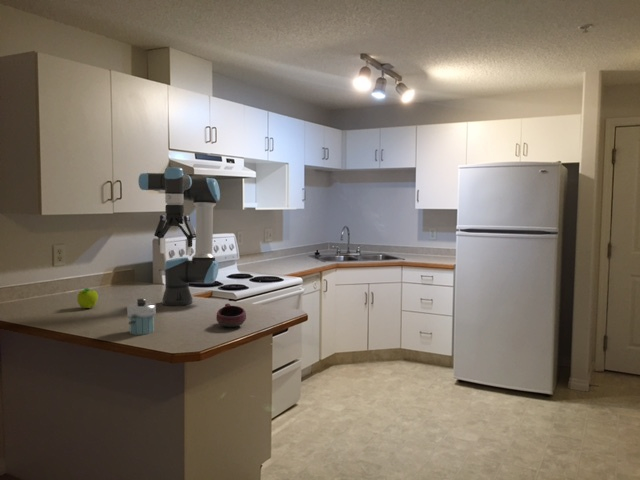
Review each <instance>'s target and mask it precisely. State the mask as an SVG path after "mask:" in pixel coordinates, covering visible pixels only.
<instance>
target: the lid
mask: <svg viewBox="0 0 640 480" xmlns="http://www.w3.org/2000/svg"><path fill="white" fill-rule="evenodd" d="M146 299H147V298H144V297H143V298H137V302H135V303H134V302H133V303H129V304H128V305H127V306H126V307H127V309H126V310H127V314H126V315H127V317H128V318H129V317H131V318H145V317H151V316H154V317H155V316H156V314H157V311H156V310H157V304H156V303H154V302H147V301H146Z"/></svg>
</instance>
